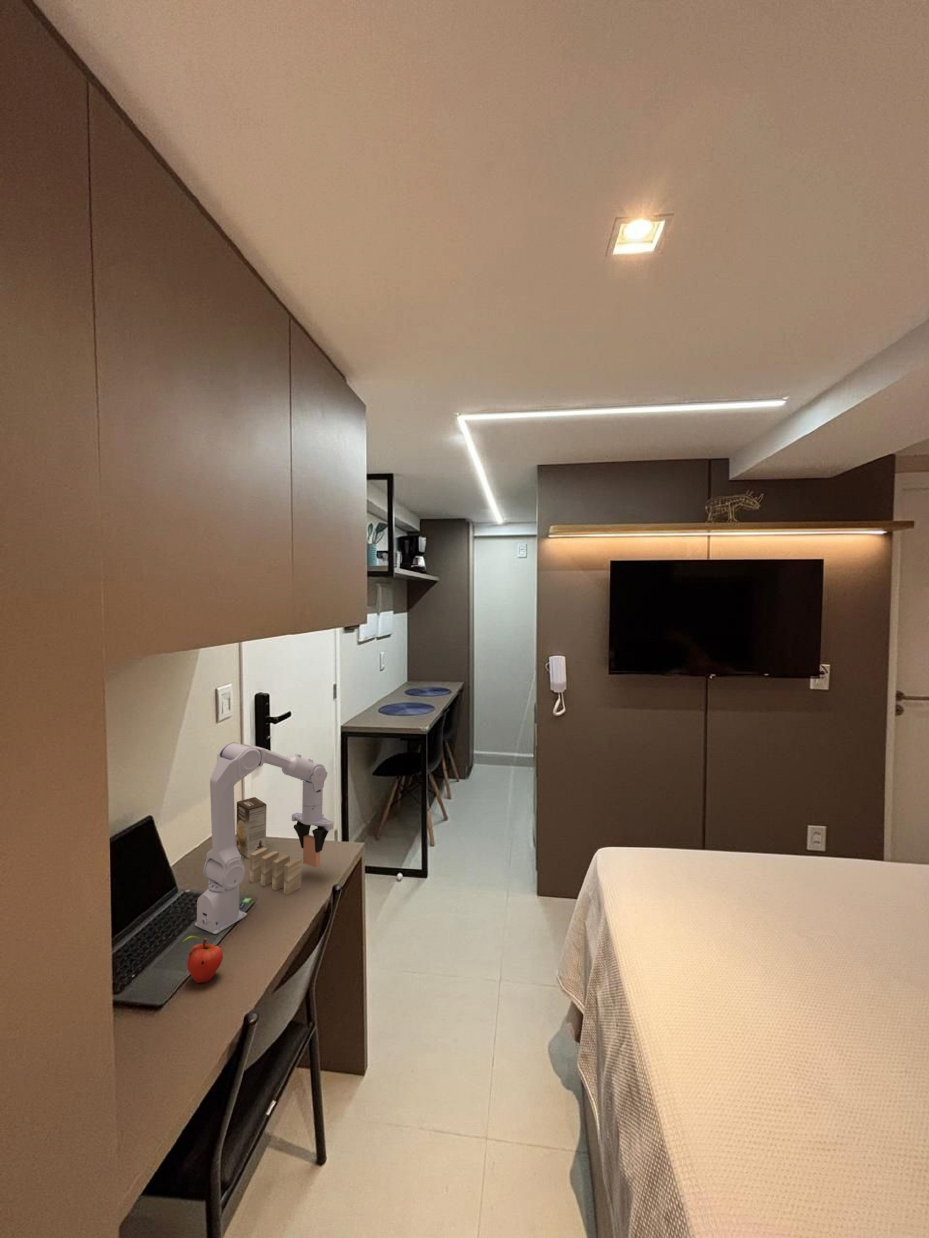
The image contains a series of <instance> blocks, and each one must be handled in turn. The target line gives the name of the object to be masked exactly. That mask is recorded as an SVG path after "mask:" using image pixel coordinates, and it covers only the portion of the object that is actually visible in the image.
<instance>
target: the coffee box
mask: <svg viewBox="0 0 929 1238" xmlns="http://www.w3.org/2000/svg"><path fill="white" fill-rule="evenodd" d="M267 806H268V805H267V803H265V802H264V801H262V800H260V799H259V798H257V797H256V796H254V797H249V798H245V799H242V800H239V801H236V828H235V839H236V847H237V849H238V851H239V853H240V855H243V856H244V857H245V858H247V859H250V854H251V853H253V852H255V851H257V850H259V849H261V848H267Z"/></svg>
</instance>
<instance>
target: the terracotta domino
mask: <svg viewBox="0 0 929 1238" xmlns="http://www.w3.org/2000/svg"><path fill="white" fill-rule="evenodd" d="M302 849H303V850H302V851H303V852H302V853H303V855H302V858H303V859H302V860H303V861H302V863H303V864H304V865H308V866H310V867H314V868H317V867H319V866H320V865H321V851H320V852H318V853H316V852H315V840H314V835H311V834H309V835H306V836H304V848H302Z"/></svg>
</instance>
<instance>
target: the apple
mask: <svg viewBox="0 0 929 1238" xmlns="http://www.w3.org/2000/svg"><path fill="white" fill-rule="evenodd" d="M192 938H195V939H198V940H199V941H201V942H202V943H198V944H195V945H193V947H191V950H190V951H189V954H188V958H187V963H186V965H187V966H186V967H187V971H188V973H189V974H190V976H191V977H192V979H193V981H194V982H195V983H197V984H201V983H207V982H209V981H210V980H211V979H212V978H213V976H214V975H215V973H216V972H217V971H218V969H219V968H220V967H221V964H222V961H223V957H224V955H223V954H224V953H223V950H222V948H221V946H218V945H217V944H211V943H208V942H207V941H208V938H203V939H202V938H200V937H199V936H195V935H189V936H187V937H186V938H185V939H183V940H182V941H181V942H185V941H187V940H188V939H189V940H190V939H192Z"/></svg>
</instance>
